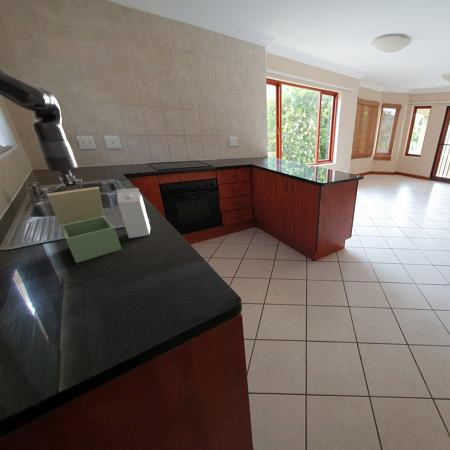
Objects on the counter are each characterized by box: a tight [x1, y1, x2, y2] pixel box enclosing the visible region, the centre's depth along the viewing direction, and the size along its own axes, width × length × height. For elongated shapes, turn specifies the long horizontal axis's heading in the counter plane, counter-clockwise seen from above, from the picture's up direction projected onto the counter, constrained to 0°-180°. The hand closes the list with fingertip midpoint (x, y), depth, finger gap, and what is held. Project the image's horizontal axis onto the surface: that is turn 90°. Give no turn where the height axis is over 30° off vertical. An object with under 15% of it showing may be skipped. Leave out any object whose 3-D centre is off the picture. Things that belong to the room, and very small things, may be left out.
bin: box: [60, 215, 122, 264], centre depth 85 cm, size 16×13×9 cm
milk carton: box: [115, 187, 151, 239], centre depth 94 cm, size 7×7×19 cm
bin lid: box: [46, 183, 105, 226], centre depth 82 cm, size 16×13×5 cm
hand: (77, 204), depth 86 cm, fingers closed
